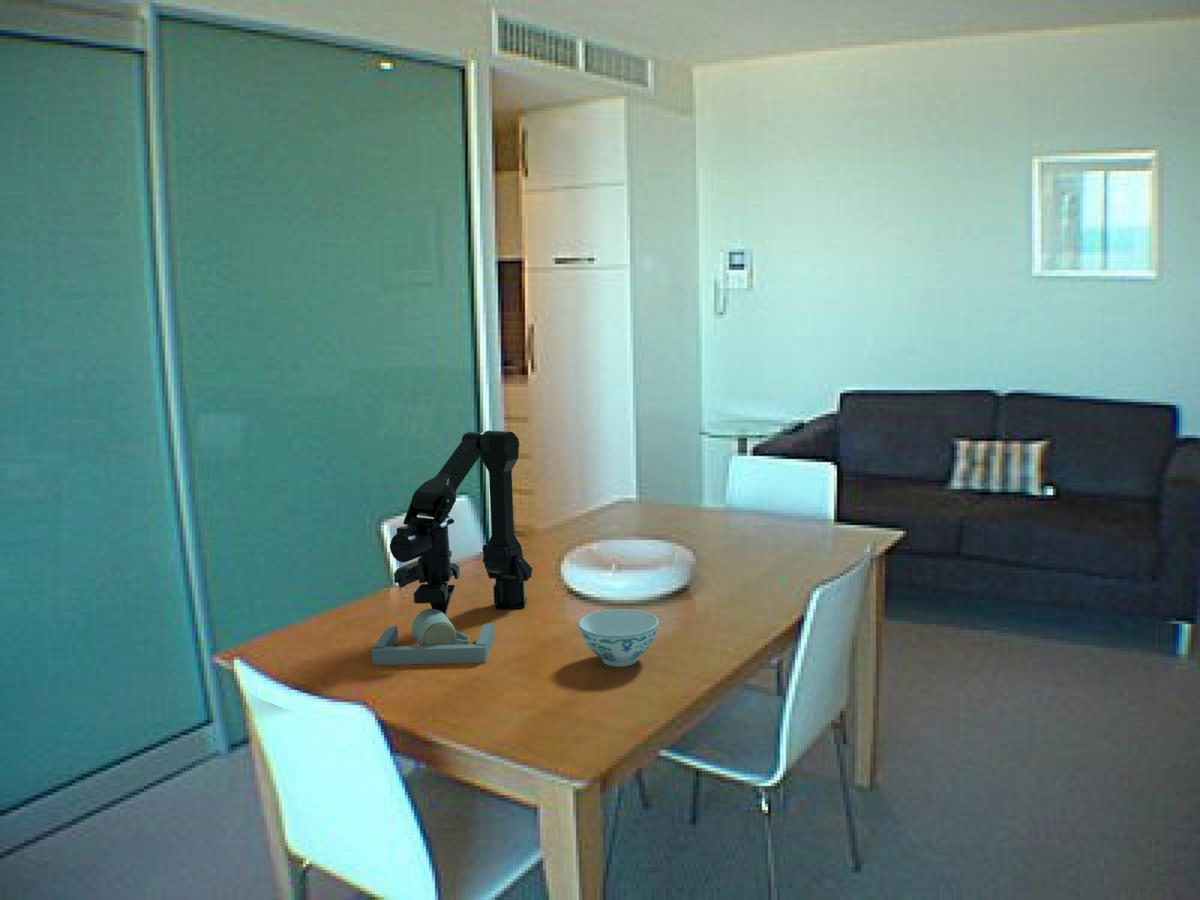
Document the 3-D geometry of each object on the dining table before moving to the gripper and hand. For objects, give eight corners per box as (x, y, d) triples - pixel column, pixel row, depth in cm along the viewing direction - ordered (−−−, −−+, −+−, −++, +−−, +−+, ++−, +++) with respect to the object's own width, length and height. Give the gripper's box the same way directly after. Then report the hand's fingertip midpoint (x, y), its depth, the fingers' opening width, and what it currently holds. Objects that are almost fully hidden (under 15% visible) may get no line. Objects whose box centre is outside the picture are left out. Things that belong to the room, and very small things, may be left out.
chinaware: (567, 656, 210) (565, 618, 209) (633, 641, 217) (632, 604, 216) (605, 681, 197) (603, 640, 196) (674, 663, 204) (673, 624, 203)
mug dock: (494, 637, 223) (494, 623, 222) (485, 662, 209) (484, 647, 208) (388, 640, 223) (387, 626, 223) (372, 665, 210) (371, 650, 209)
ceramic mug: (423, 660, 211) (421, 622, 210) (412, 647, 218) (410, 611, 217) (475, 651, 215) (474, 614, 214) (462, 639, 223) (461, 603, 221)
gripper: (405, 538, 229) (410, 609, 231) (385, 563, 210) (391, 640, 213) (457, 537, 228) (462, 607, 231) (442, 562, 210) (447, 638, 213)
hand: (440, 622), depth 222 cm, fingers closed
